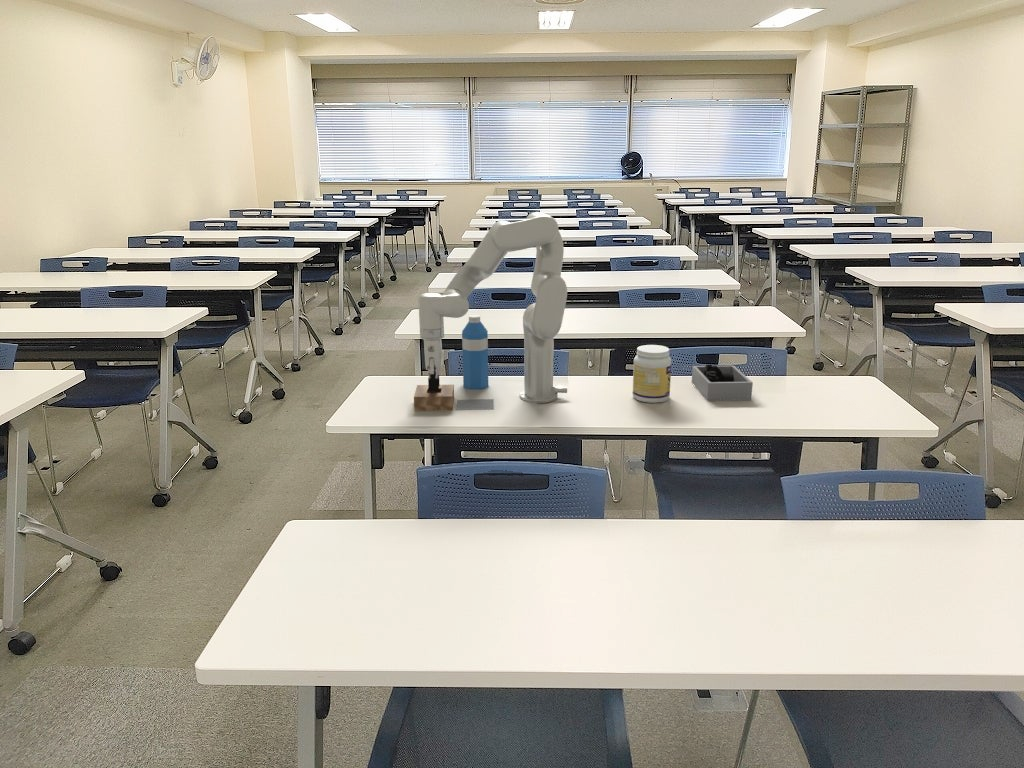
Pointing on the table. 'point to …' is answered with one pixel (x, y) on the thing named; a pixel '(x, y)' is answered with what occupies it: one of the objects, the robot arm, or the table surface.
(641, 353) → the supplement tub
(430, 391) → the peg
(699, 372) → the tray
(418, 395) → the socket block
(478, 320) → the water bottle
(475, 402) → the mat
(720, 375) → the film camera
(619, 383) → the table surface
